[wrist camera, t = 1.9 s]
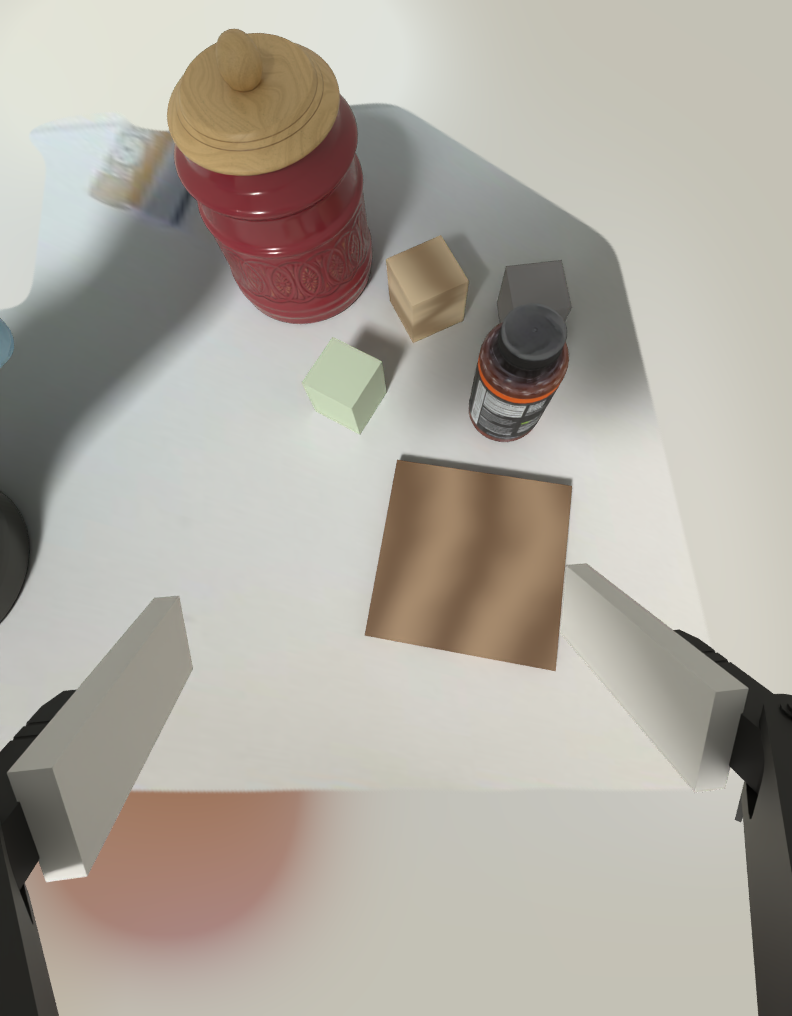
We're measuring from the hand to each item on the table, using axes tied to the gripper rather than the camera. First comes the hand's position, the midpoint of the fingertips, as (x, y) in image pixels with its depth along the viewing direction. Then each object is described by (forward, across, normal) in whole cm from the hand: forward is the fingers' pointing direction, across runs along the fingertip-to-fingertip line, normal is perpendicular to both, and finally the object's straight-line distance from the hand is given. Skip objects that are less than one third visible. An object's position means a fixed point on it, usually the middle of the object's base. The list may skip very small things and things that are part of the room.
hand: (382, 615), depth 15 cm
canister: (+35, -4, +18) cm, 39 cm away
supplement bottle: (+24, +12, +4) cm, 28 cm away
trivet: (+18, +8, -6) cm, 21 cm away
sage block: (+27, 0, +6) cm, 27 cm away
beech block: (+30, +7, +13) cm, 34 cm away
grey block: (+28, +16, +12) cm, 34 cm away
